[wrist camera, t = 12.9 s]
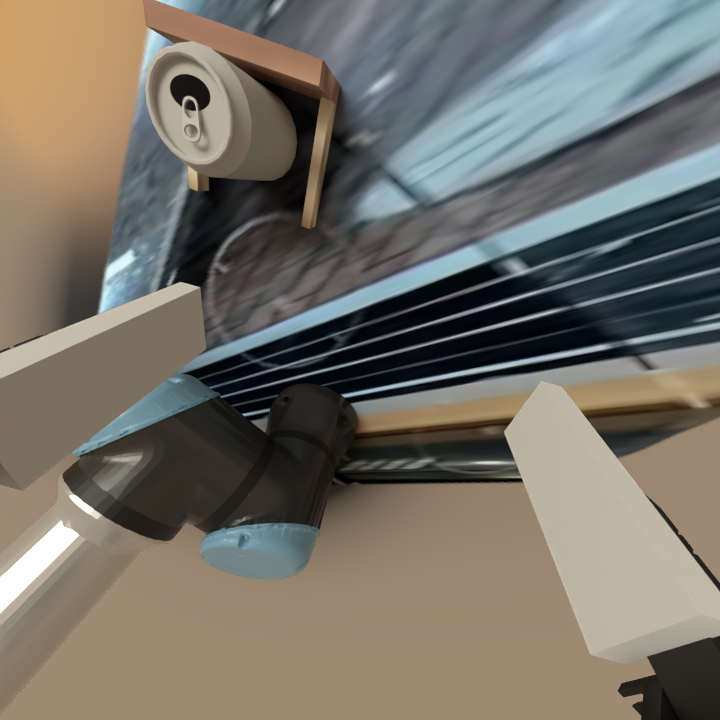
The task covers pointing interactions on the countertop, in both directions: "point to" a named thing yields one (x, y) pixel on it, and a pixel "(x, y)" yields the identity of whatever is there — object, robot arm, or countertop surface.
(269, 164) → the can
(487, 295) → the countertop surface
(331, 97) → the wooden bracket
